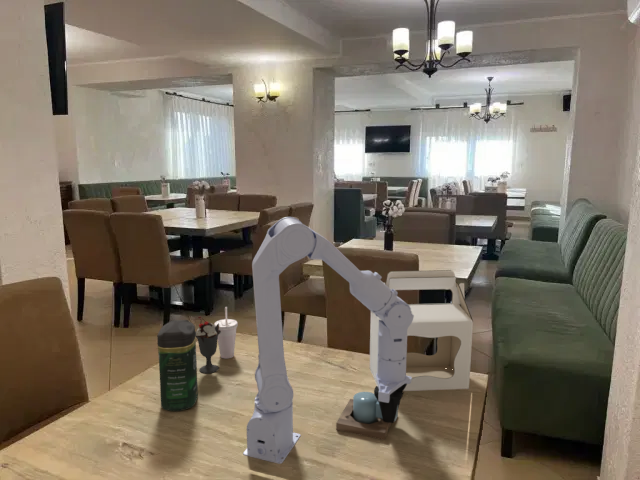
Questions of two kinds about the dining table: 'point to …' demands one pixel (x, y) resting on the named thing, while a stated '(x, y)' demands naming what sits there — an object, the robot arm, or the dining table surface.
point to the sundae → (207, 344)
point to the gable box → (433, 332)
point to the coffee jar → (177, 365)
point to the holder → (361, 424)
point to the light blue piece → (367, 408)
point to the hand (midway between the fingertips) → (390, 417)
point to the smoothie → (226, 336)
